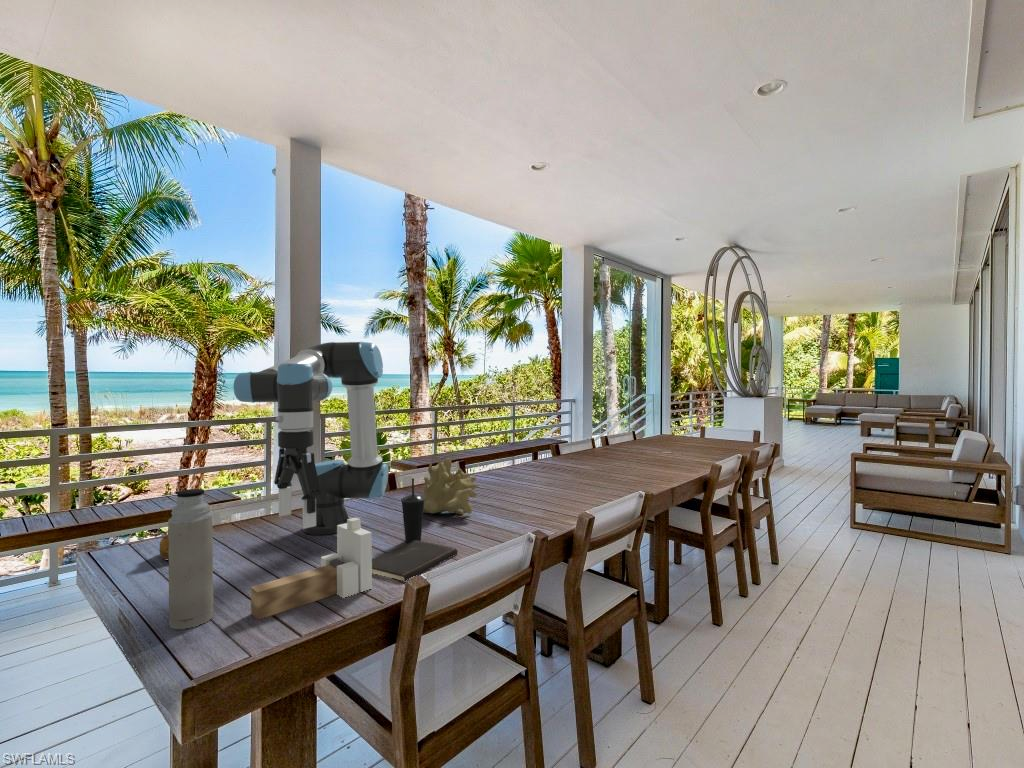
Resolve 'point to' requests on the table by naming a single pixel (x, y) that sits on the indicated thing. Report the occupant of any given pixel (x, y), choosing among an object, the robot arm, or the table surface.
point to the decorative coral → (448, 489)
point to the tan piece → (294, 590)
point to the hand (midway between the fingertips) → (296, 521)
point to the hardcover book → (411, 559)
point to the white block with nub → (352, 558)
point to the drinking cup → (413, 515)
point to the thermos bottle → (190, 561)
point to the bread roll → (164, 548)
